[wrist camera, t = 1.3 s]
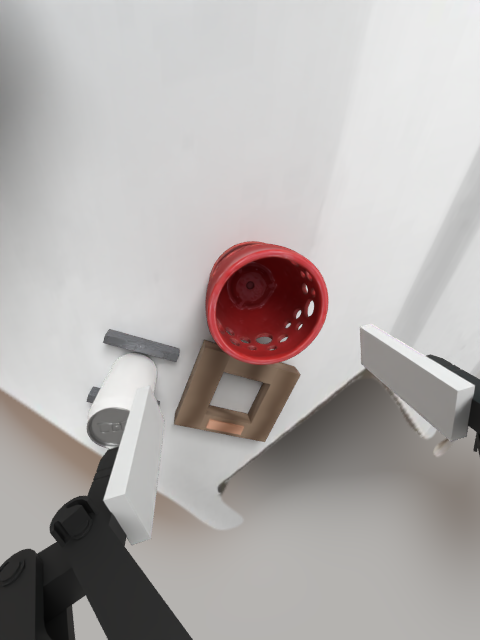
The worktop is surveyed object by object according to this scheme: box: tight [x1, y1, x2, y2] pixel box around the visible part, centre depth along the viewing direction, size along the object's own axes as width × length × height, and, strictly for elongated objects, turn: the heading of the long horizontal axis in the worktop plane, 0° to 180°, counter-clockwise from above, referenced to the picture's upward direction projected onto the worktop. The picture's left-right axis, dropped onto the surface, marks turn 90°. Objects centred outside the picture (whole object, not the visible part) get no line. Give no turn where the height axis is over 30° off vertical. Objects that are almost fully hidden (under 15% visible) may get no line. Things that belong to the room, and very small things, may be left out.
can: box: [87, 353, 157, 449], centre depth 35 cm, size 6×6×12 cm
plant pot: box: [206, 241, 328, 365], centre depth 33 cm, size 13×13×12 cm
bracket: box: [87, 329, 179, 406], centre depth 40 cm, size 10×11×2 cm
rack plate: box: [174, 340, 300, 442], centre depth 43 cm, size 16×14×3 cm
